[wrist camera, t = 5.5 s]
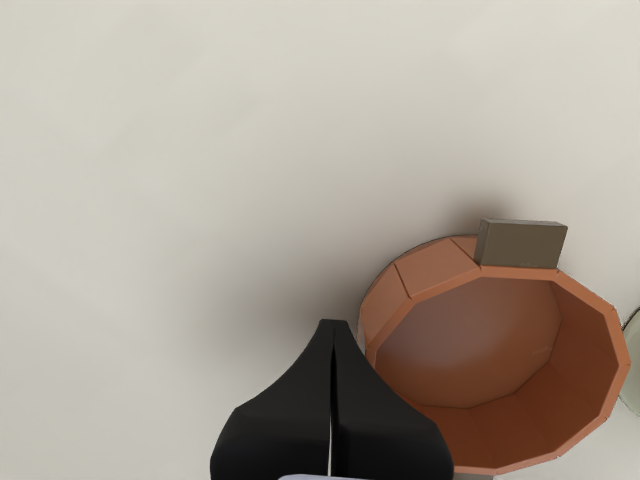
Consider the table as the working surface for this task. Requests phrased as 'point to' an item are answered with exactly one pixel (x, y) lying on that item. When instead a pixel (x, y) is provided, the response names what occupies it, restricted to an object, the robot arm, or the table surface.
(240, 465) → the robot arm
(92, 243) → the table surface
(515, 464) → the pan
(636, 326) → the can
